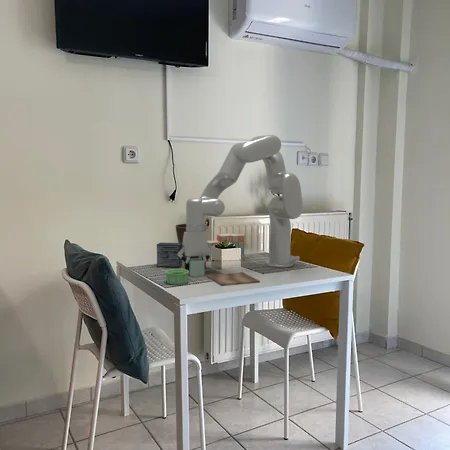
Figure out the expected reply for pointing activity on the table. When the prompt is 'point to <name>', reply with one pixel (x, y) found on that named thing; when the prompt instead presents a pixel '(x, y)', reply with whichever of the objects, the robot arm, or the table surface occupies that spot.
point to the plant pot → (180, 233)
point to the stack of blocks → (232, 238)
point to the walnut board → (232, 278)
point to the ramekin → (177, 276)
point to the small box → (169, 255)
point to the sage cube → (197, 267)
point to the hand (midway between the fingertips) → (195, 271)
